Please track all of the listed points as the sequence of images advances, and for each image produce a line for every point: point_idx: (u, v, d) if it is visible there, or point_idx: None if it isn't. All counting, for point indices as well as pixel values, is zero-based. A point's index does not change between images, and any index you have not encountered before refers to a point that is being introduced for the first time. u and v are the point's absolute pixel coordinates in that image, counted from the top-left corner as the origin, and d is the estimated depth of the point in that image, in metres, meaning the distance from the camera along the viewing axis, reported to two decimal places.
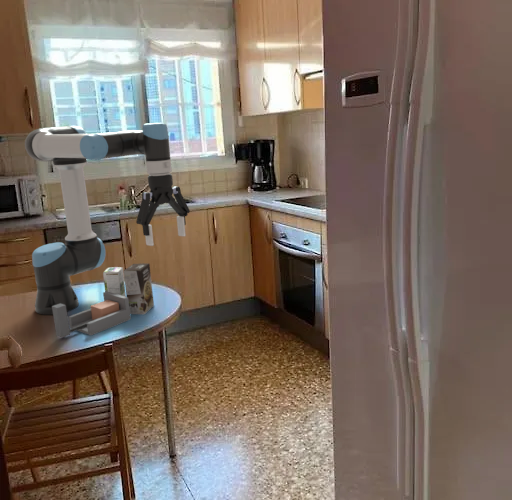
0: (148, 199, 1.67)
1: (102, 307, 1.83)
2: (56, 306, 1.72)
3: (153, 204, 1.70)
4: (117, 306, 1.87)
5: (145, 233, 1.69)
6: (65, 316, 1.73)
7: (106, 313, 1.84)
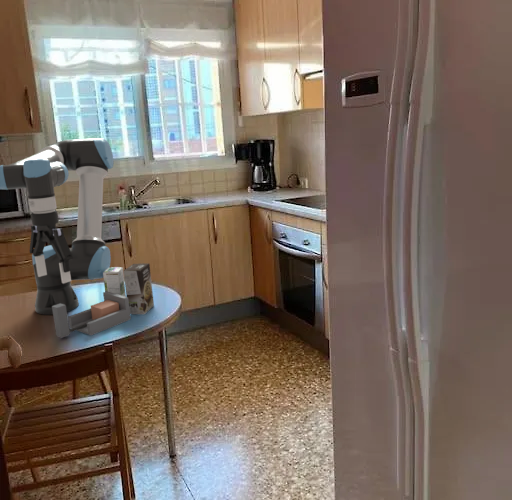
0: (32, 232, 1.70)
1: (102, 307, 1.83)
2: (56, 306, 1.72)
3: None
4: (117, 306, 1.87)
5: None
6: (65, 316, 1.73)
7: (106, 313, 1.84)
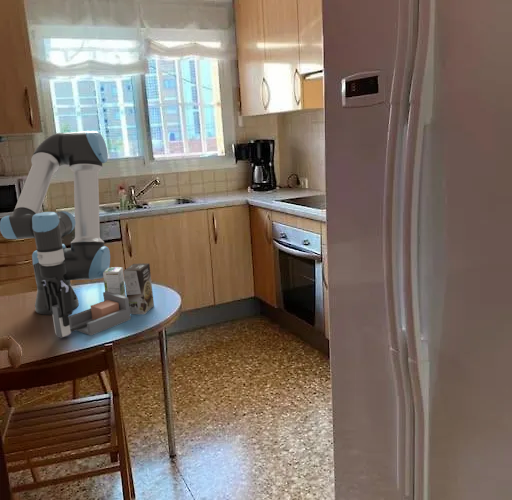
0: (43, 287, 1.74)
1: (102, 307, 1.83)
2: (56, 306, 1.72)
3: None
4: (117, 306, 1.87)
5: None
6: None
7: (106, 313, 1.84)
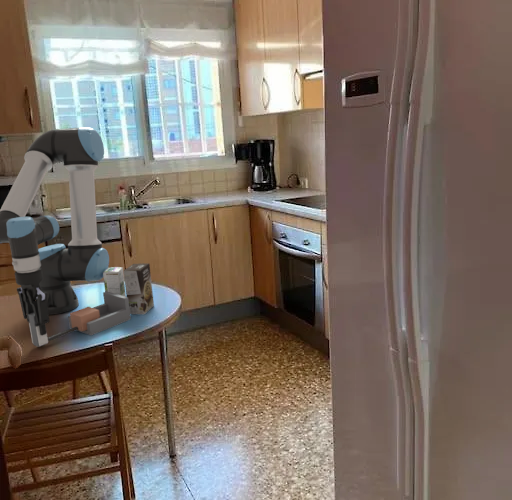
0: (19, 294, 1.68)
1: (82, 315, 1.77)
2: (33, 314, 1.66)
3: None
4: (97, 313, 1.81)
5: None
6: None
7: (86, 321, 1.78)
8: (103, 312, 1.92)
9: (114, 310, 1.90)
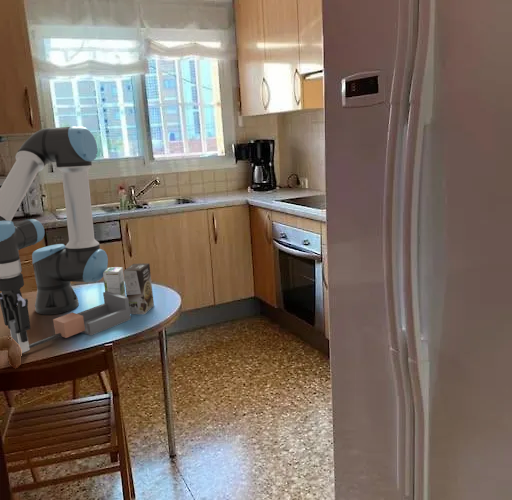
0: (0, 300, 1.63)
1: (65, 321, 1.73)
2: (13, 321, 1.62)
3: None
4: (81, 319, 1.76)
5: None
6: None
7: (69, 327, 1.73)
8: (103, 312, 1.92)
9: (114, 310, 1.90)
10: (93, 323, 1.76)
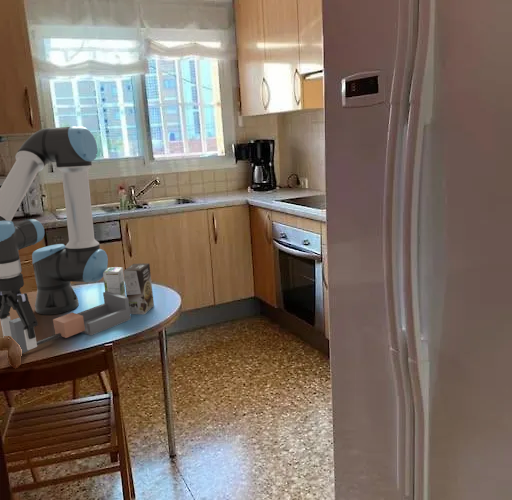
0: None
1: (65, 321, 1.73)
2: (13, 321, 1.62)
3: None
4: (81, 319, 1.76)
5: None
6: (23, 331, 1.63)
7: (69, 327, 1.73)
8: (103, 312, 1.92)
9: (114, 310, 1.90)
10: (93, 323, 1.76)
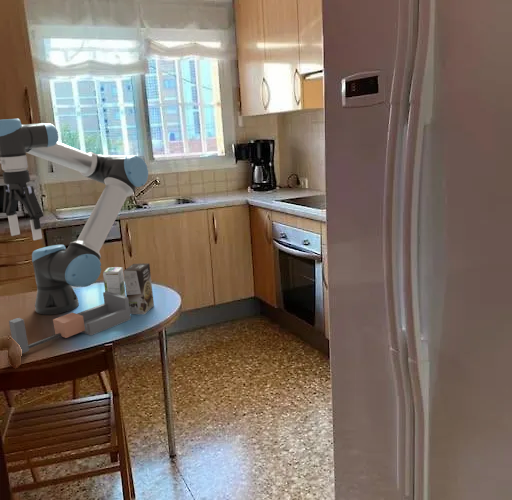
0: (5, 191, 1.75)
1: (65, 321, 1.73)
2: (13, 321, 1.62)
3: None
4: (81, 319, 1.76)
5: None
6: (23, 331, 1.63)
7: (69, 327, 1.73)
8: (103, 312, 1.92)
9: (114, 310, 1.90)
10: (93, 323, 1.76)
